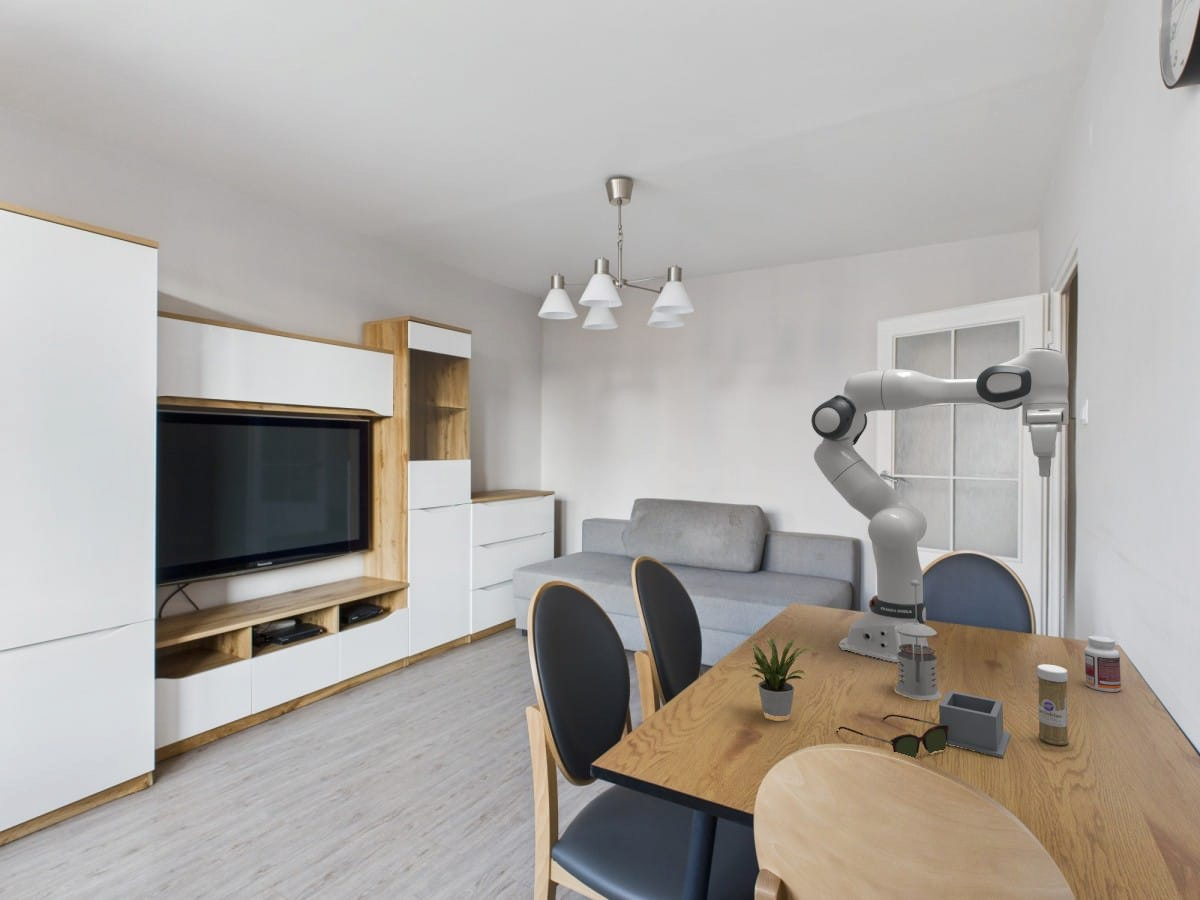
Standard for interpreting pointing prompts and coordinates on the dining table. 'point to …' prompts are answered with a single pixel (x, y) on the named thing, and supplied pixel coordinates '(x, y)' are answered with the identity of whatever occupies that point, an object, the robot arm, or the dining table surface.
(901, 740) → the sunglasses
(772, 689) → the house plant
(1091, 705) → the dining table surface
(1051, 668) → the sprinkles bottle
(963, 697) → the square holder
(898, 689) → the french press
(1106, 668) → the pill bottle
